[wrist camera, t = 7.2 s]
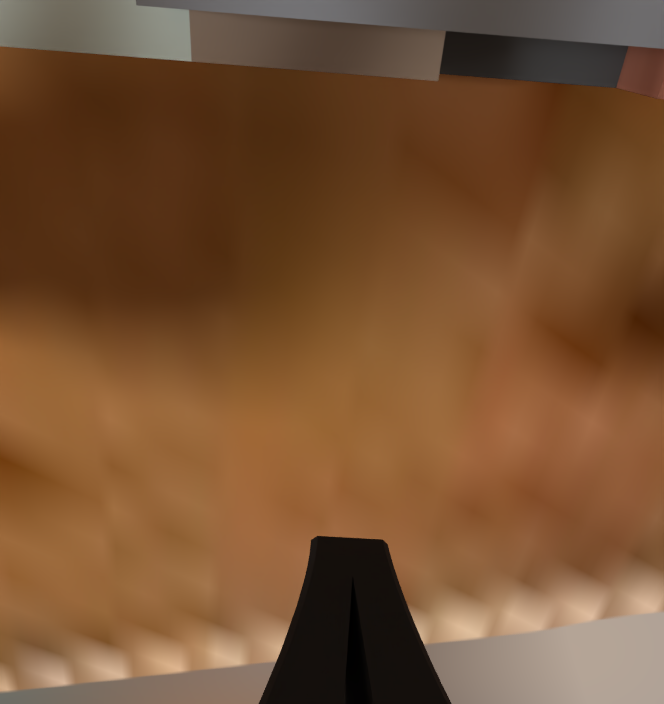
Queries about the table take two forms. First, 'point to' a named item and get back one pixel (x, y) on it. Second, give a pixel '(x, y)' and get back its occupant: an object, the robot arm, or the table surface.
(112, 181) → the table surface
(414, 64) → the tunnel deck
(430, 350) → the table surface
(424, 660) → the robot arm
